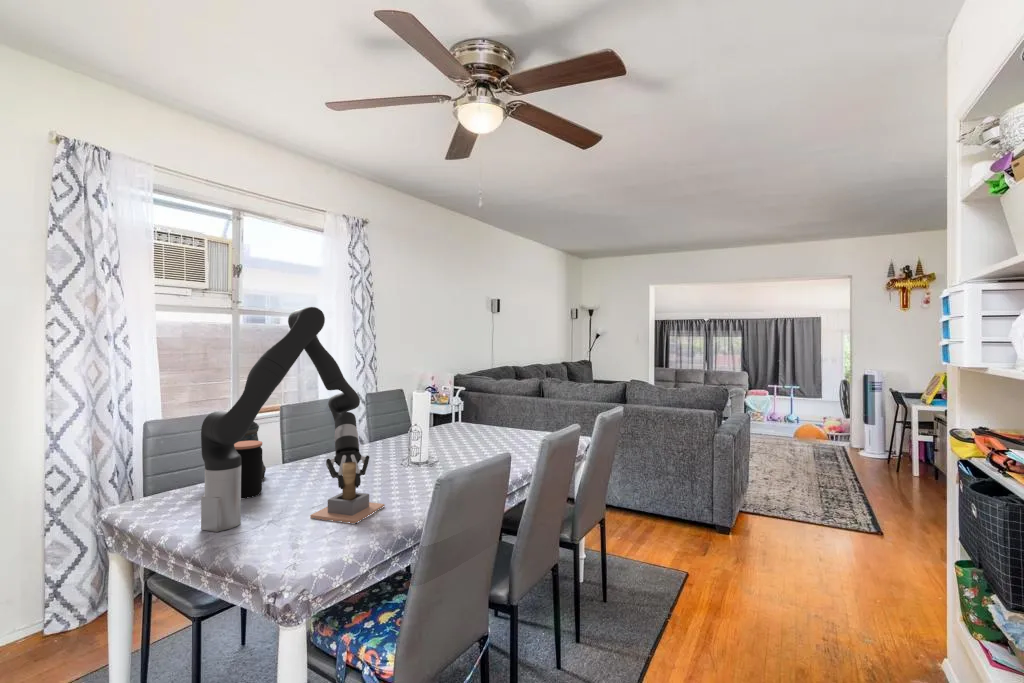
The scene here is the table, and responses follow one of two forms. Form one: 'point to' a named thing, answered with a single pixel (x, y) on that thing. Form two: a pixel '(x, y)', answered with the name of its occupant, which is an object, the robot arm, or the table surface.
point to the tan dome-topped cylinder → (349, 481)
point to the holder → (347, 509)
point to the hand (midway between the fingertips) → (349, 486)
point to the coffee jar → (250, 467)
